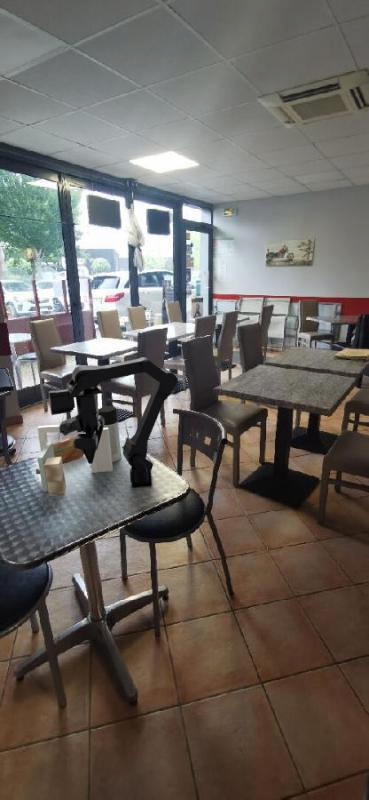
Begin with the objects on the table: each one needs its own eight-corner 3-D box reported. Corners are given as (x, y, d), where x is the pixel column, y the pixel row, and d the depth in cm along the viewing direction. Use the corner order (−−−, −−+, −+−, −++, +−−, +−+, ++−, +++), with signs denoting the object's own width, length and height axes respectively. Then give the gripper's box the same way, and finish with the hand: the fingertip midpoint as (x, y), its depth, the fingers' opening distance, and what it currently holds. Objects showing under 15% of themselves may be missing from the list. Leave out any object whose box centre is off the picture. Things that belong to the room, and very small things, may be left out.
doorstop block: (66, 486, 131) (61, 456, 128) (63, 494, 127) (59, 463, 123) (52, 488, 131) (47, 457, 127) (49, 496, 126) (44, 465, 123)
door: (47, 491, 128) (42, 457, 124) (38, 491, 128) (32, 458, 124) (57, 472, 139) (52, 441, 136) (48, 473, 139) (43, 442, 135)
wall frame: (112, 468, 142) (107, 421, 136) (112, 471, 140) (106, 424, 134) (47, 472, 141) (39, 425, 135) (45, 476, 139) (37, 428, 133)
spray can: (125, 456, 150) (120, 407, 144) (113, 464, 145) (107, 413, 139) (111, 453, 154) (106, 404, 147) (99, 460, 148) (93, 410, 142)
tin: (51, 468, 144) (47, 447, 141) (47, 466, 146) (44, 445, 143) (88, 455, 153) (85, 435, 150) (84, 452, 155) (81, 432, 153)
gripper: (66, 400, 126) (72, 445, 131) (51, 422, 108) (59, 473, 113) (102, 398, 126) (106, 443, 131) (92, 419, 109) (98, 470, 114)
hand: (93, 456), depth 122 cm, fingers open, 9 cm apart
